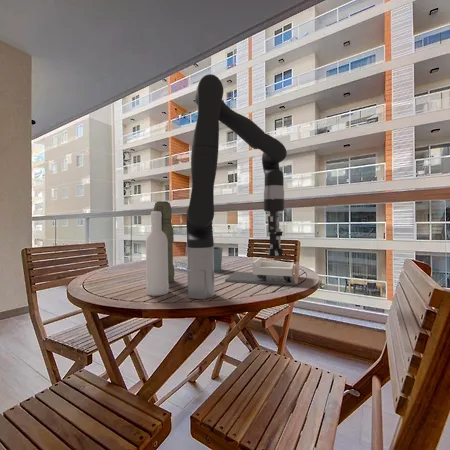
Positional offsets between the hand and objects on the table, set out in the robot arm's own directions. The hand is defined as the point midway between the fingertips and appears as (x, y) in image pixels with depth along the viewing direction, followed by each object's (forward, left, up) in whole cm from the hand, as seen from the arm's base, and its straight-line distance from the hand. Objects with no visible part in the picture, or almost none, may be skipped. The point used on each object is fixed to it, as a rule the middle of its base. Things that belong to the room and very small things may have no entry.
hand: (273, 243), depth 96 cm
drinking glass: (+31, +36, -18) cm, 51 cm away
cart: (+16, +2, -16) cm, 23 cm away
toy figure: (0, 0, -5) cm, 5 cm away
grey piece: (+16, +7, -17) cm, 25 cm away
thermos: (+1, +48, -18) cm, 51 cm away
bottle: (-15, +41, -18) cm, 47 cm away
